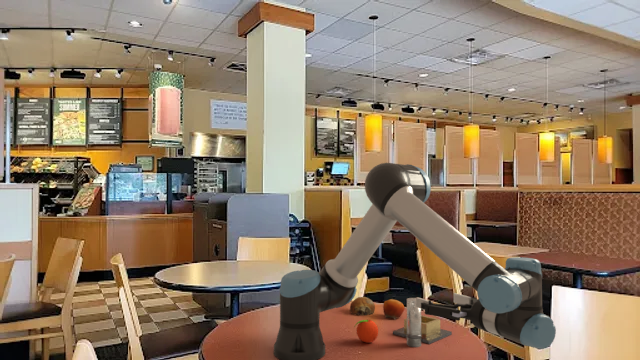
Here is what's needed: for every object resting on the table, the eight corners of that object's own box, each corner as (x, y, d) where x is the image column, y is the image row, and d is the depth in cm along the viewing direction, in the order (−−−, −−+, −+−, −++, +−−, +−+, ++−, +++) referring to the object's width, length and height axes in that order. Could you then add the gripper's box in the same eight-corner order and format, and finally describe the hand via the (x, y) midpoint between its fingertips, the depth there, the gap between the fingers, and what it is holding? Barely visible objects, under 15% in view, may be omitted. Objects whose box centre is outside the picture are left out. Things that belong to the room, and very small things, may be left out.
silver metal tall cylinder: (416, 348, 135) (416, 302, 135) (403, 344, 138) (403, 299, 139) (424, 344, 138) (424, 299, 139) (411, 341, 141) (411, 297, 142)
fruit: (378, 316, 166) (381, 295, 170) (384, 322, 172) (387, 302, 176) (398, 318, 162) (402, 297, 166) (404, 325, 168) (407, 305, 172)
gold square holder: (429, 344, 139) (429, 328, 139) (392, 334, 149) (392, 319, 149) (451, 334, 149) (451, 319, 149) (416, 325, 159) (415, 311, 159)
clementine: (356, 346, 136) (356, 323, 136) (350, 339, 143) (350, 317, 143) (381, 345, 138) (381, 321, 138) (374, 338, 144) (374, 316, 145)
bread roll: (377, 321, 176) (380, 301, 179) (366, 316, 169) (370, 295, 172) (354, 318, 182) (358, 298, 185) (344, 312, 174) (348, 292, 177)
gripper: (453, 339, 105) (401, 317, 124) (528, 326, 115) (469, 308, 135) (452, 307, 105) (400, 290, 124) (527, 297, 116) (468, 283, 135)
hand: (436, 299), depth 130 cm, fingers open, 13 cm apart
